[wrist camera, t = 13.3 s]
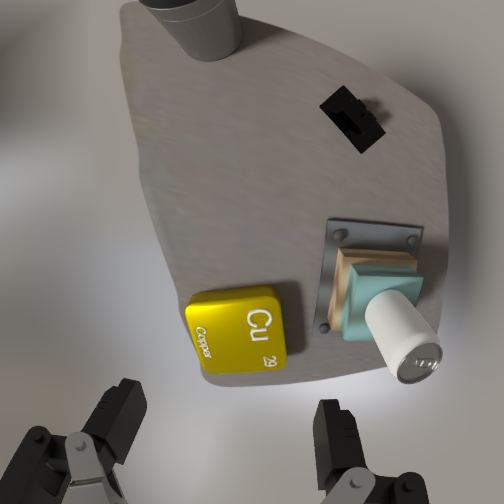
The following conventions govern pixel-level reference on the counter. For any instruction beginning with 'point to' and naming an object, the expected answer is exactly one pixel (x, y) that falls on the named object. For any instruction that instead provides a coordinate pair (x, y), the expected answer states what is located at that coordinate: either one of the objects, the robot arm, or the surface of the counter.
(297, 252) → the counter surface
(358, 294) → the brick tower
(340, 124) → the black slotted housing
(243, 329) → the element tile
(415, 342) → the can
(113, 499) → the robot arm
